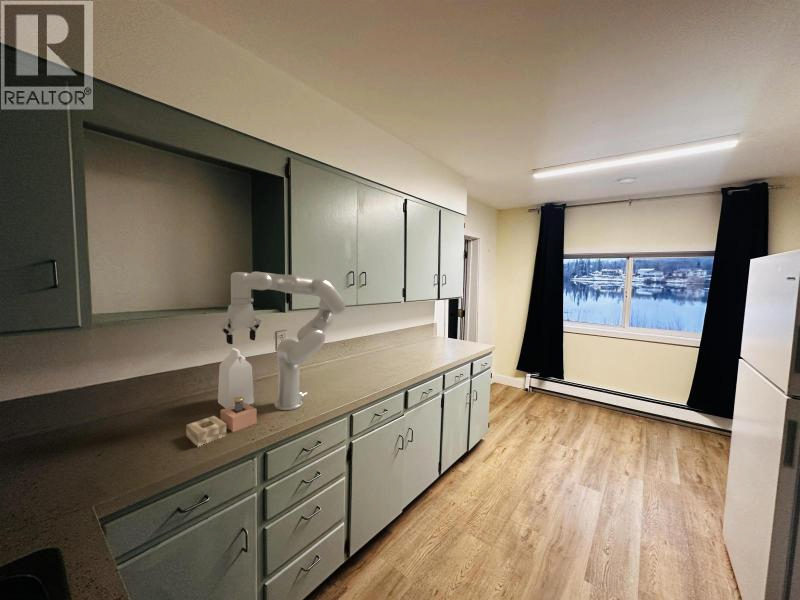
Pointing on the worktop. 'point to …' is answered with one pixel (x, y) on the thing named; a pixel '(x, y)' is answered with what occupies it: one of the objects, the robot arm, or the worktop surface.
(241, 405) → the pin
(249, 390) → the milk
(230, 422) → the dock
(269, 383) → the worktop surface
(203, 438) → the mount
